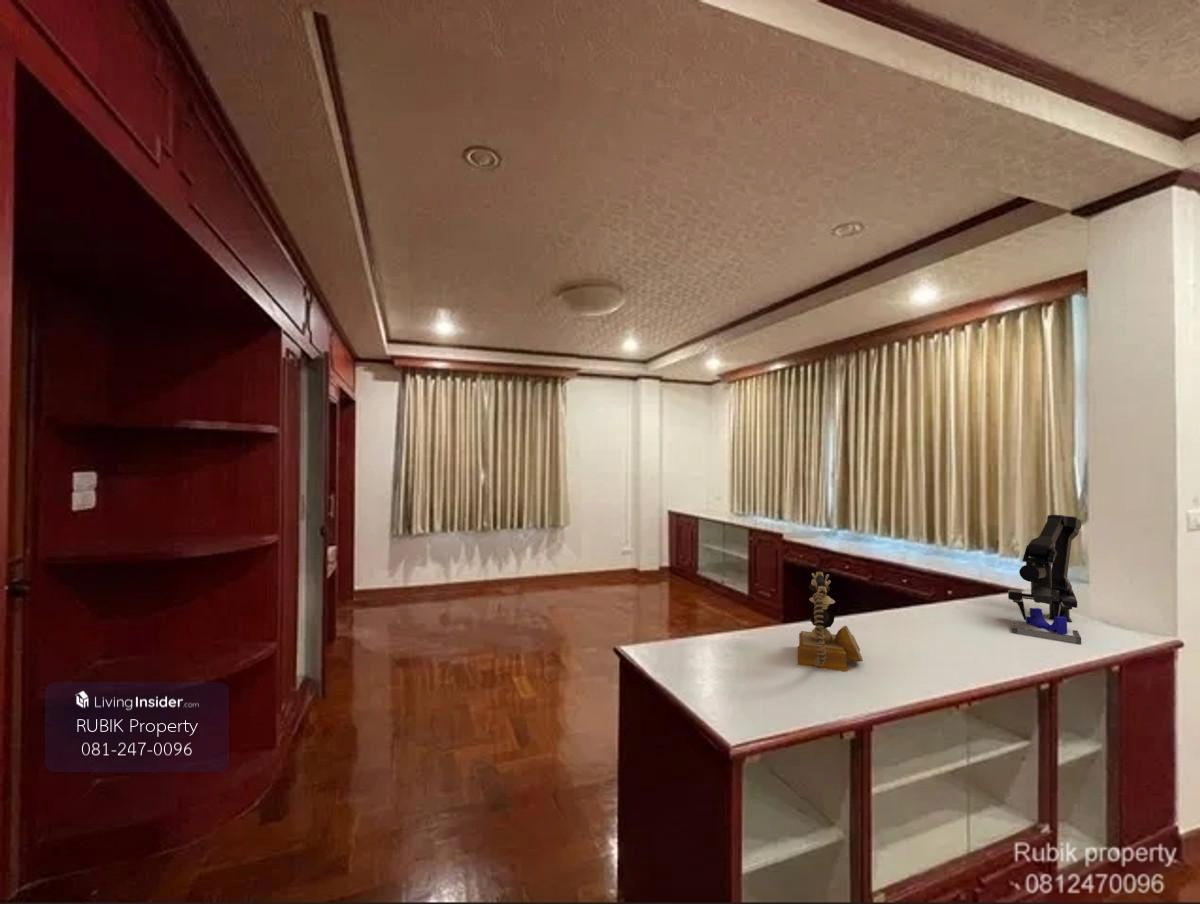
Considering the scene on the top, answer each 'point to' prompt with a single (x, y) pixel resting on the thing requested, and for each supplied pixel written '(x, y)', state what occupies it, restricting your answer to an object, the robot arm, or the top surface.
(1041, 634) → the rail bay
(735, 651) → the top surface
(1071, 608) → the robot arm
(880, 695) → the top surface
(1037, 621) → the cable clip
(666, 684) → the top surface
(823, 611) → the jack-in-the-box toy
